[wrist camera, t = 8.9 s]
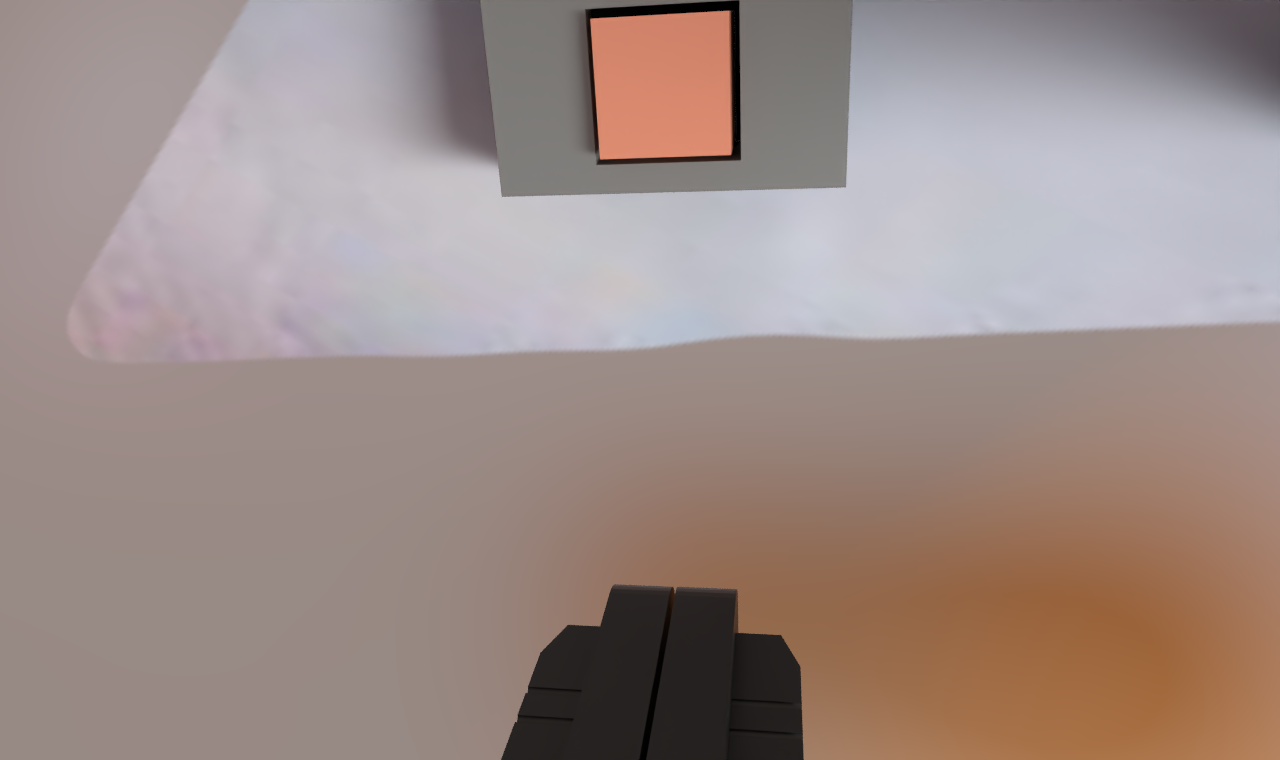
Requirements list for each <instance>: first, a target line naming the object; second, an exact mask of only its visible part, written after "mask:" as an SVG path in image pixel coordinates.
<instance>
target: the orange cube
mask: <svg viewBox="0 0 1280 760" xmlns="http://www.w3.org/2000/svg"><path fill="white" fill-rule="evenodd" d="M590 21H591V36H592V50H593V65H594V79H595V94H596V108H597V123H598V137H599V152H600V159H626V158H656V157H686V156H716V155H731V153H732V150H733V147H734V144H735V140H736V137H737V133H736V45H735V11H715V12H697V13H680V14H663V15H645V16H628V17H611V18H593V19H590Z"/></svg>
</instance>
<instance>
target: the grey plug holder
mask: <svg viewBox="0 0 1280 760" xmlns="http://www.w3.org/2000/svg"><path fill="white" fill-rule="evenodd" d="M718 1H735V0H480V6H481V15H482V23H483V32H484V41H485V50H486V59H487V68H488V77H489V86H490V95H491V104H492V113H493V122H494V131H495V139H496V148H497V157H498V166H499V175H500V184H501V193H502V197H509V196H546V195H582V194H619V193H655V192H692V191H729V190H765V189H802V188H838V187H846V169H847V140H848V112H849V83H850V54H851V26H852V0H739V2H740V106H741V141H735V144H734V147H733V150H732V153H731V155H716V156H686V157H656V158H626V159H600V152H599V137H598V123H597V108H596V94H595V79H594V65H593V50H592V36H591V21H590V19H592V18H591V9H600V8H617V7H634V6H651V5H668V4H684V3H701V2H718Z"/></svg>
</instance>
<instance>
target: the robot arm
mask: <svg viewBox="0 0 1280 760" xmlns="http://www.w3.org/2000/svg"><path fill="white" fill-rule="evenodd" d="M801 704H802V702H801V672H800V666H799V664H798V662H797V661H796V659H795V657H794V656H793V654H792V652H791V651H790V649H789V648H788V646H787V644H786V643H785V641H784V639H783V638H782V636H781V635H767V634H746V633H738V593H737V589H717V588H692V587H677V589H676V593H674V588H673V587H663V586H639V585H638V586H637V585H616V584H615V585H613V587H612V588H611V591H610V594H609V598H608V601H607V605H606V608H605V612H604V615H603V619H602V622H601V626H600V627H598V626H579V625H567V627H566V628H565V629H564V630H563V631H562V632H561V633H560V634H559V635H558V636H557V637H556V638H555V639H554V640H553V641H552V642H551V643H550V644H549V645H548V646H547V647H546V648H545V649H544V650H543V651H542V652H541V653H540V656H539V659H538V661H537V664H536V667H535V669H534V672H533V675H532V677H531V681H530V683H529V686H528V693H526V694H525V697H524V699H523V702H522V705H521V708H520V710H519V713H518V720H517V722H515V724H514V726H513V729H512V732H511V735H510V737H509V740H508V743H507V745H506V748H505V751H504V754H503V756H502V759H501V760H804V759H803V733H802V732H803V730H802V705H801Z"/></svg>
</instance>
